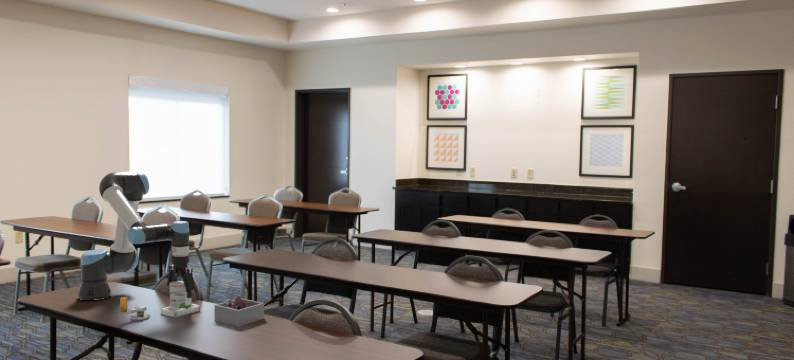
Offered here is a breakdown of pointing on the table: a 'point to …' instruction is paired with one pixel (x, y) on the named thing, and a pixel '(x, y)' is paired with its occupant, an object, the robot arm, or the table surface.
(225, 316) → the parts crate
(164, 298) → the table surface
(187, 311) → the tray
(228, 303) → the brake caliper
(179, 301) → the ink box
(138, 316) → the crank base
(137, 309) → the crank
